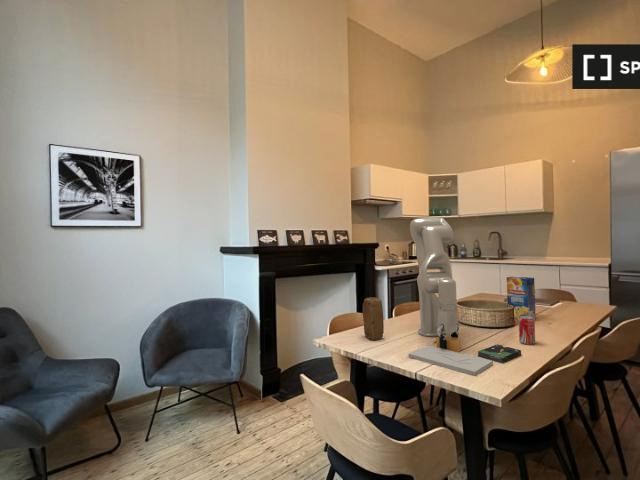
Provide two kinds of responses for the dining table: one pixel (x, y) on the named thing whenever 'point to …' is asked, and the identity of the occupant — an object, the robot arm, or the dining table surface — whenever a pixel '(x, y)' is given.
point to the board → (451, 360)
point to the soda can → (526, 330)
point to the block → (373, 318)
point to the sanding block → (452, 344)
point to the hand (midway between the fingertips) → (449, 345)
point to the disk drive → (499, 353)
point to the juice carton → (521, 296)
